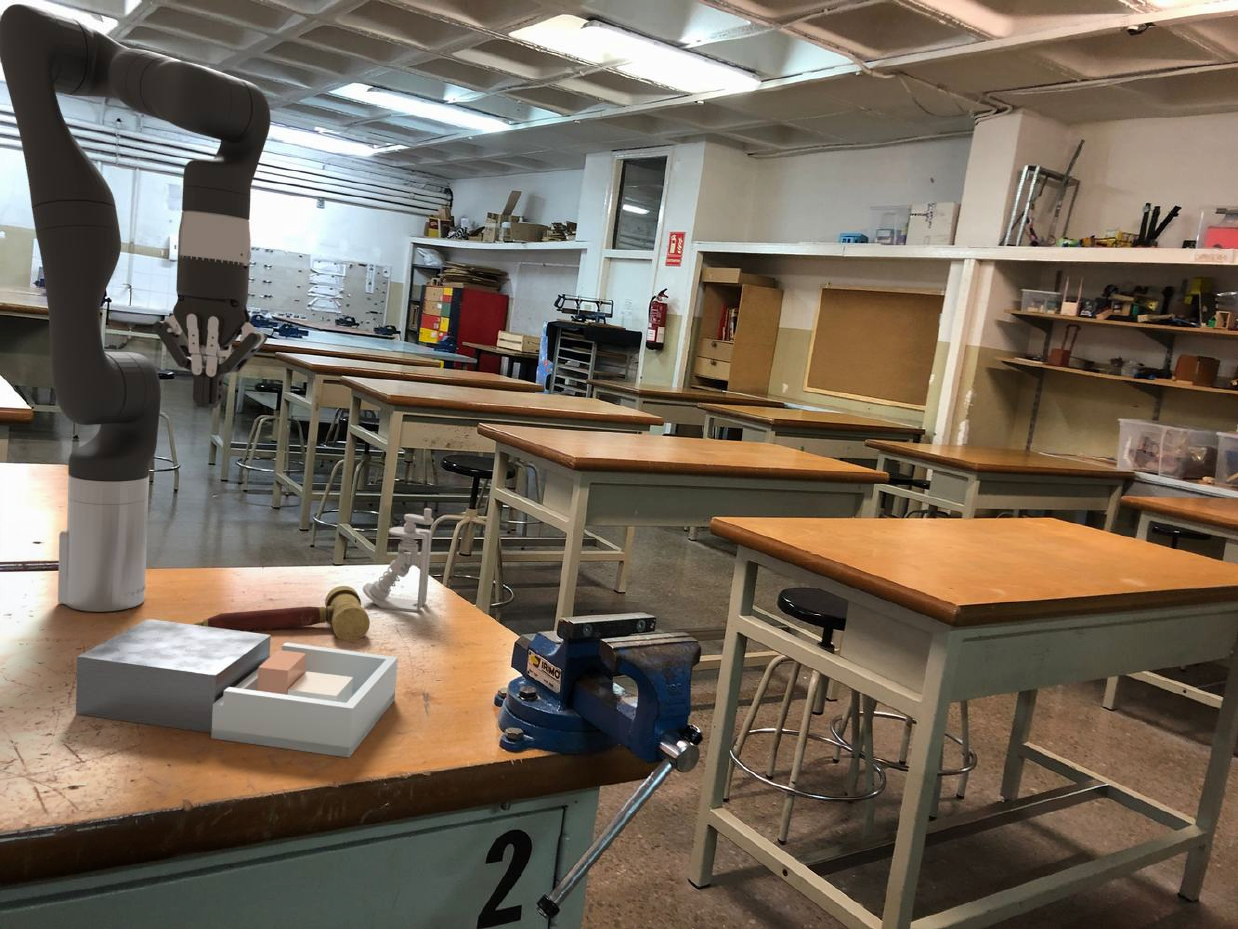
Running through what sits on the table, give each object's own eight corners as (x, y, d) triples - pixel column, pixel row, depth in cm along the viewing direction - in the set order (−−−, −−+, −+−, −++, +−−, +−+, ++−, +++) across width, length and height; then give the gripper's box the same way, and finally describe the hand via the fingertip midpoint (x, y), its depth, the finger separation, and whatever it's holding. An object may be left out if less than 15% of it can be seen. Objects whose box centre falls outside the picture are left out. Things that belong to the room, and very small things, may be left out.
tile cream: (336, 695, 92) (334, 724, 92) (353, 677, 97) (351, 704, 97) (287, 689, 92) (285, 717, 93) (306, 671, 97) (305, 698, 97)
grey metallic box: (75, 714, 90) (77, 656, 90) (146, 670, 102) (148, 618, 101) (212, 733, 90) (215, 675, 89) (267, 686, 102) (270, 635, 101)
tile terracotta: (258, 667, 92) (288, 670, 92) (278, 649, 97) (306, 653, 97) (255, 714, 93) (285, 717, 93) (275, 694, 98) (303, 698, 98)
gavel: (191, 621, 110) (193, 596, 119) (193, 657, 111) (194, 629, 120) (370, 606, 119) (359, 584, 128) (369, 640, 120) (359, 615, 129)
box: (211, 738, 89) (213, 689, 88) (274, 683, 103) (277, 641, 102) (349, 757, 88) (352, 708, 87) (394, 700, 102) (397, 657, 101)
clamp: (367, 596, 136) (374, 498, 134) (430, 604, 136) (439, 505, 134) (358, 605, 132) (365, 503, 130) (424, 612, 132) (432, 511, 130)
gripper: (138, 247, 101) (133, 403, 103) (255, 260, 100) (247, 417, 103) (176, 253, 108) (170, 398, 111) (284, 265, 108) (276, 411, 110)
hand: (207, 407), depth 107 cm, fingers closed
